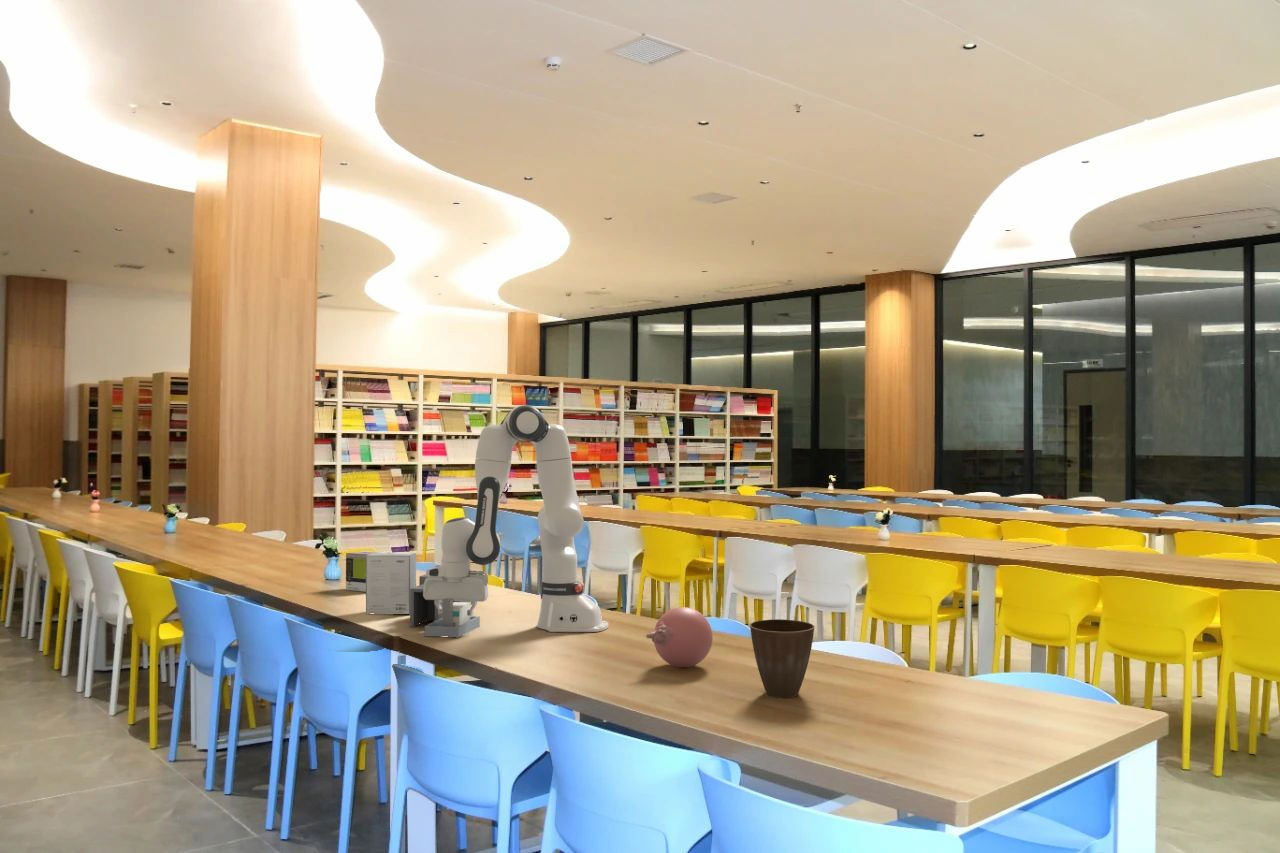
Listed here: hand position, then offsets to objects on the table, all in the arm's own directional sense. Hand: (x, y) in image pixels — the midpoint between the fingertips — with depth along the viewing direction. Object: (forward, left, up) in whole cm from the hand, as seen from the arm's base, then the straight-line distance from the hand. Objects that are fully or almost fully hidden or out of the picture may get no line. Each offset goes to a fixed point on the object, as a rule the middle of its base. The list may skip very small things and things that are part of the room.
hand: (455, 615), depth 305 cm
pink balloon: (-74, +36, -5) cm, 83 cm away
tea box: (+62, -69, -5) cm, 93 cm away
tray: (0, +2, -5) cm, 5 cm away
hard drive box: (+32, -24, -5) cm, 40 cm away
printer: (+11, -13, -5) cm, 17 cm away
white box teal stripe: (0, +1, -4) cm, 4 cm away
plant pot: (-102, +57, -5) cm, 117 cm away
